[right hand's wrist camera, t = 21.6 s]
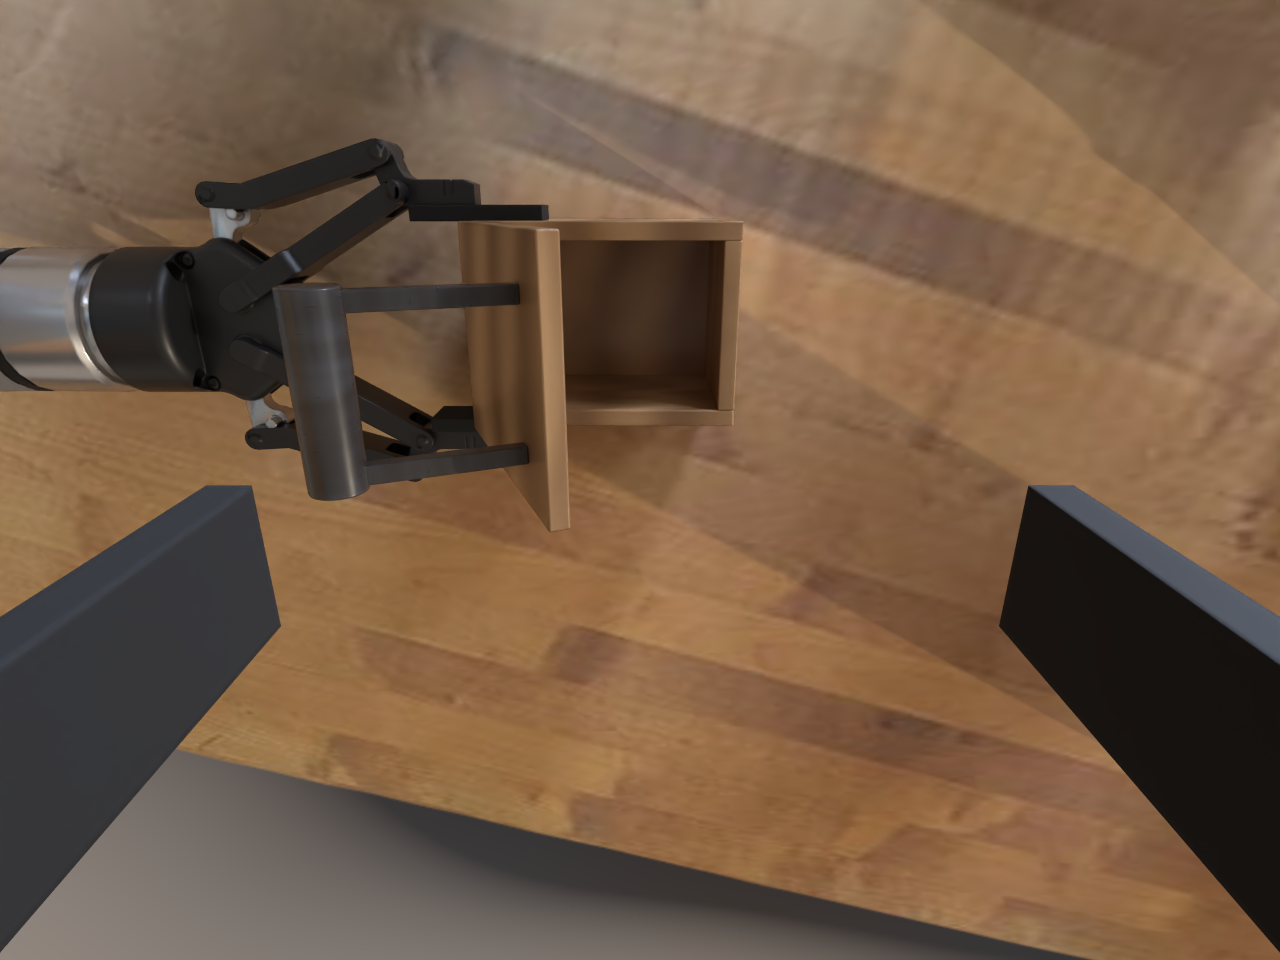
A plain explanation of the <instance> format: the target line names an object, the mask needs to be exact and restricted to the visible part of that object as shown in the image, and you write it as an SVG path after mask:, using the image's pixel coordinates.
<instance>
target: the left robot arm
mask: <svg viewBox="0 0 1280 960" xmlns="http://www.w3.org/2000/svg"><path fill="white" fill-rule="evenodd" d="M375 175H376V176H377V178H378V180H379V182H380V184H381V185H380V186H378V187H377V188H375V189H374V190H373V191H371V192H370V193H368V194H367V195H365V196H364V197H362V198H361V199H359V200H358V201H356V202H355V203H354V204H352V205H351V206H349V207H348V208H346V209H345V210H343V211H342V212H340V213H339V214H338V215H336V216H335V217H333V218H332V219H330V220H329V221H327V222H326V223H324V224H323V225H322V226H320V227H319V228H317V229H316V230H314V231H313V232H311V233H310V234H308V235H307V236H306V237H304V238H303V239H301V240H300V241H298V242H297V243H295V244H294V245H292V246H291V247H289V248H288V249H286V250H283V251H281V252H279V253H277V254H275V255H274V256H272V257H269V256H268V255H266V254H265V253H263V252H262V251H260V250H259V249H257V248H256V247H254V246H253V245H251V244H250V243H248V242H247V241H245V240H243V239H242V233H243V230H244V229H245V228H246V227H248V226H252V225H255V224H256V223H257V222H258V221H259V218H260V216H261V213H260V211H259V210H260V209H274V208H279V207H283V206H286V205H289V204H292V203H295V202H298V201H301V200H304V199H307V198H310V197H313V196H315V195H318V194H321V193H324V192H327V191H330V190H333V189H336V188H339V187H342V186H345V185H348V184H351V183H354V182H357V181H360V180H363V179H366V178H369V177H372V176H375ZM195 195H196V198H197V200H198V201H199V203H200V204H202V205H203V206H204V207H208V208H209V212H210V219H211V225H212V232H213V239H211V240H209V241H208V242H206V243H205V244H203V245H201V246H199V247H124V248H120V249H114V248H112V247H29V248H13V249H0V391H96V392H131V391H136V390H142V391H149V392H226V393H230V394H232V395H235V396H237V397H239V398H241V399H243V400H246V403H247V407H248V411H249V415H250V419H251V423H252V427H253V428H252V429H250V430H249V431H247V432H246V435H245V440H246V442H247V444H248V445H249V446H250V447H251V448H253V449H258V450H261V449H279V448H291V449H294V450H298V451H300V446H299V440H298V435H297V429H296V423H295V418H294V412H293V409H292V408H289V407H287V406H282V405H279V404H277V403H276V402H275V401H274V400H273V399H272V396H271V394H272V393H273V392H275V391H276V390H277V389H278V388H279V387H281V386H282V385H283V384H284V385H286V386H288V387H289V384H288V378H287V373H286V367H285V361H284V356H283V350H282V345H281V339H280V333H279V328H278V322H277V317H276V311H275V305H274V300H273V294H272V288H273V287H275V286H278V285H285V284H296V283H303V282H304V281H305V280H307V279H308V278H310V277H311V276H313V275H314V274H316V273H317V272H319V271H320V270H321V269H322V268H323V267H324V266H325V265H326V264H328V263H329V262H331V261H332V260H334V259H335V258H337V257H338V256H340V255H341V254H343V253H344V252H346V251H347V250H349V249H350V248H352V247H353V246H355V245H356V244H358V243H359V242H361V241H362V240H364V239H365V238H366V237H368V236H369V235H371V234H372V233H374V232H375V231H377V230H378V229H380V228H381V227H383V226H384V225H386V224H387V223H389V222H390V221H392V220H393V219H395V218H396V217H398V216H399V215H401V214H402V213H404V212H405V211H407V210H408V209H409V218H410V221H544V220H549V212H548V205H481V197H480V185H479V184H476V183H474V182H471V181H469V180H418V179H416V178H415V177H413V176H412V175H411V174H410V172H409V170H408V169H407V166H406V164H405V162H404V155H403V151H402V149H401V148H400V147H399V146H398V145H397V144H394V143H391V142H387V141H384V140H380V139H376V138H374V139H369V140H366V141H363V142H360V143H357V144H354V145H351V146H348V147H345V148H343V149H340V150H337V151H334V152H331V153H328V154H325V155H322V156H319V157H316V158H313V159H311V160H308V161H305V162H302V163H299V164H296V165H293V166H290V167H287V168H284V169H281V170H279V171H276V172H273V173H270V174H267V175H264V176H261V177H258V178H255V179H252V180H249V181H247V182H244V183H241V184H239V183H223V182H207V181H205V182H200V183H199V184H198V185H197V186H196V188H195ZM354 376H355V375H354ZM355 383H356V390H357V397H358V404H359V411H360V417H361V421H363V422H365V423H367V424H369V425H371V426H373V427H375V428H377V429H379V430H380V431H382V432H384V433H386V434H388V435H390V436H392V437H394V438H396V439H398V440H395V439H392V438H388V437H384V436H381V435H377V434H373V433H370V432H366V431H363V430H362V431H363V438H364V445H365V452H366V459H367V461H371V460H379V459H387V458H396V457H404V456H412V455H421V454H429V453H437V450H439V449H470V448H478V447H487V444H486V443H485V442H484V440H483V439H482V437H481V436H480V435H479V433H478V432H477V430H476V429H475V425H474V413H473V406H444V407H443V408H442V409H441V410H440V411H439V412H438V413H437V414H436V415H435V416H434V417H432V416H430V415H428V414H426V413H424V412H423V411H421V410H419V409H417V408H415V407H413V406H411V405H410V404H408V403H406V402H404V401H402V400H400V399H398V398H396V397H395V396H393V395H391V394H389V393H387V392H385V391H383V390H381V389H380V388H378V387H376V386H374V385H372V384H370V383H368V382H367V381H365V380H363V379H361V378H359V377H357V376H355ZM399 440H400V441H399ZM421 479H422V478H421ZM421 479H413V480H408V481H413V482H417V481H420V480H421Z"/></svg>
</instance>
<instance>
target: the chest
mask: <svg viewBox="0 0 1280 960" xmlns="http://www.w3.org/2000/svg"><path fill="white" fill-rule="evenodd" d="M476 222H487V223H499V224H510V225H522V226H533V227H545V228H556V229H559V233H560V261H561V288H562V315H563V342H564V370H565V397H566V424H567V425H670V426H732V425H733V419H734V411H733V410H734V400H735V380H736V360H737V340H738V320H739V301H740V281H741V261H742V241H741V240H743V222H742V221H735V220H727V219H549V220H544V221H476Z"/></svg>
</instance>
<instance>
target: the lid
mask: <svg viewBox="0 0 1280 960" xmlns="http://www.w3.org/2000/svg"><path fill="white" fill-rule="evenodd" d="M457 224H458V236H459V248H460V260H461V271H462V283H463V284H449V285H422V286H395V287H368V288H342V287H341V285H339V284H335V283H296V284H285V285H278V286H275V287H273V288H272V294H273V300H274V305H275V311H276V317H277V322H278V328H279V333H280V339H281V345H282V350H283V356H284V361H285V367H286V373H287V378H288V384H289V390H290V395H291V401H292V406H293V412H294V418H295V423H296V429H297V435H298V440H299V446H300V451H301V457H302V463H303V468H304V474H305V480H306V485H307V491H308V494H309V496H310V497H311V498H313V499H316V500H323V501H335V500H343V499H348V498H352V497H355V496H358V495H361V494H363V493H365V492H366V491H367V490H368V489H369V487H370V485H375V484H383V483H390V482H398V481H405V480H413V479H421V478H428V477H436V476H443V475H451V474H458V473H466V472H473V471H481V470H488V469H496V468H504V469H505V471H506V472H507V474H508V475H509V476H510V478H511V479H512V481H513V482H514V483H515V485H516V486H517V488H518V489H519V490H520V492H521V493H522V495H523V496H524V497H525V499H526V500H527V501H528V503H529V504H530V506H531V507H532V508H533V510H534V511H535V513H536V514H537V515H538V517H539V518H540V520H541V521H542V522H543V524H544V525H545V527H546V528H547V529H548V531H549V532H555V531H561V530H567V529H570V506H569V479H568V452H567V424H566V397H565V370H564V342H563V315H562V288H561V261H560V233H559V229H556V228H545V227H533V226H522V225H510V224H499V223H487V222H476V221H459V222H458V223H457ZM463 307H465V319H466V330H467V342H468V354H469V366H470V378H471V390H472V401H473V413H474V425H475V429H476V430H477V432H478V433H479V435H480V436H481V437H482V439H483V440H484V442H485V443H486V444H487V447H478V448H470V449H462V450H454V451H445V452H437V453H429V454H421V455H412V456H404V457H396V458H387V459H379V460H371V461H367V459H366V452H365V445H364V438H363V431H362V424H361V417H360V411H359V404H358V397H357V390H356V383H355V376H354V369H353V362H352V355H351V348H350V341H349V334H348V327H347V320H346V313H360V312H381V311H401V310H422V309H442V308H463Z"/></svg>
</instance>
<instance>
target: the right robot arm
mask: <svg viewBox="0 0 1280 960" xmlns="http://www.w3.org/2000/svg"><path fill="white" fill-rule="evenodd" d="M280 627H281V624H280V620H279V615H278V610H277V605H276V600H275V596H274V591H273V586H272V581H271V577H270V572H269V567H268V562H267V557H266V553H265V548H264V543H263V538H262V533H261V529H260V524H259V519H258V514H257V509H256V505H255V500H254V495H253V490H252V486H205V487H203V488H202V489H200V490H199V491H197V492H195V493H194V494H192V495H191V496H189V497H188V498H186V499H184V500H183V501H181V502H180V503H178V504H177V505H175V506H174V507H172V508H170V509H169V510H167V511H166V512H164V513H163V514H161V515H159V516H158V517H156V518H155V519H153V520H152V521H150V522H148V523H147V524H145V525H144V526H142V527H141V528H139V529H137V530H136V531H134V532H133V533H131V534H130V535H128V536H127V537H125V538H123V539H122V540H120V541H119V542H117V543H116V544H114V545H112V546H111V547H109V548H108V549H106V550H105V551H103V552H101V553H100V554H98V555H97V556H95V557H94V558H92V559H90V560H89V561H87V562H86V563H84V564H83V565H81V566H80V567H78V568H76V569H75V570H73V571H72V572H70V573H69V574H67V575H65V576H64V577H62V578H61V579H59V580H58V581H56V582H54V583H53V584H51V585H50V586H48V587H47V588H45V589H43V590H42V591H40V592H39V593H37V594H36V595H34V596H33V597H31V598H29V599H28V600H26V601H25V602H23V603H22V604H20V605H18V606H17V607H15V608H14V609H12V610H11V611H9V612H7V613H6V614H4V615H3V616H1V617H0V952H1V951H2V950H3V949H4V947H5V946H6V945H7V944H8V943H9V942H10V940H11V939H12V938H13V937H14V936H15V935H16V933H17V932H18V931H19V930H20V929H21V928H22V927H23V925H24V924H25V923H26V922H27V921H28V920H29V918H30V917H31V916H32V915H33V914H34V913H35V911H36V910H37V909H38V908H39V907H40V906H41V904H42V903H43V902H44V901H45V900H46V899H47V897H48V896H49V895H50V894H51V893H52V892H53V890H54V889H55V888H56V887H57V886H58V885H59V884H60V882H61V881H62V880H63V879H64V878H65V876H66V875H67V874H68V873H69V872H70V871H71V870H72V868H73V867H74V866H75V865H76V864H77V862H78V861H79V860H80V859H81V858H82V857H83V856H84V854H85V853H86V852H87V851H88V850H89V849H90V847H91V846H92V845H93V844H94V843H95V842H96V840H97V839H98V838H99V837H100V836H101V835H102V834H103V832H104V831H105V830H106V829H107V828H108V827H109V825H110V824H111V823H112V822H113V821H114V820H115V818H116V817H117V816H118V815H119V814H120V813H121V811H122V810H123V809H124V808H125V807H126V806H127V804H128V803H129V802H130V801H131V800H132V799H133V797H134V796H135V795H136V794H137V793H138V792H139V791H140V789H141V788H142V787H143V786H144V785H145V784H146V782H147V781H148V780H149V779H150V778H151V777H152V775H153V774H154V773H155V772H156V771H157V770H158V768H159V767H160V766H161V765H162V764H163V763H164V761H165V760H166V759H167V758H168V757H169V756H170V754H171V753H172V752H173V751H174V750H175V749H176V748H177V746H178V745H179V744H180V743H181V742H182V741H183V739H184V738H185V737H186V736H187V735H188V734H189V732H190V731H191V730H192V729H193V728H194V727H195V725H196V724H197V723H198V722H199V721H200V720H201V718H202V717H203V716H204V715H205V714H206V713H207V711H208V710H209V709H210V708H211V707H212V706H213V705H214V703H215V702H216V701H217V700H218V699H219V698H220V696H221V695H222V694H223V693H224V692H225V691H226V689H227V688H228V687H229V686H230V685H231V684H232V682H233V681H234V680H235V679H236V678H237V677H238V675H239V674H240V673H241V672H242V671H243V670H244V668H245V667H246V666H247V665H248V664H249V663H250V661H251V660H252V659H253V658H254V657H255V656H256V655H257V653H258V652H259V651H260V650H261V649H262V648H263V646H264V645H265V644H266V643H267V642H268V641H269V639H270V638H271V637H272V636H273V635H274V634H275V632H276V631H277V630H278V629H279V628H280ZM999 627H1000V628H1001V629H1002V630H1003V631H1004V632H1005V634H1006V635H1007V636H1008V637H1009V638H1010V639H1011V641H1012V642H1013V643H1014V644H1015V645H1016V646H1017V648H1018V649H1019V650H1020V651H1021V652H1022V653H1023V655H1024V656H1025V657H1026V658H1027V659H1028V660H1029V661H1030V663H1031V664H1032V665H1033V666H1034V667H1035V668H1036V670H1037V671H1038V672H1039V673H1040V674H1041V675H1042V677H1043V678H1044V679H1045V680H1046V681H1047V682H1048V684H1049V685H1050V686H1051V687H1052V688H1053V689H1054V691H1055V692H1056V693H1057V694H1058V695H1059V696H1060V698H1061V699H1062V700H1063V701H1064V702H1065V703H1066V705H1067V706H1068V707H1069V708H1070V709H1071V710H1072V711H1073V713H1074V714H1075V715H1076V716H1077V717H1078V718H1079V720H1080V721H1081V722H1082V723H1083V724H1084V725H1085V727H1086V728H1087V729H1088V730H1089V731H1090V732H1091V734H1092V735H1093V736H1094V737H1095V738H1096V739H1097V741H1098V742H1099V743H1100V744H1101V745H1102V746H1103V748H1104V749H1105V750H1106V751H1107V752H1108V753H1109V754H1110V756H1111V757H1112V758H1113V759H1114V760H1115V761H1116V763H1117V764H1118V765H1119V766H1120V767H1121V768H1122V770H1123V771H1124V772H1125V773H1126V774H1127V775H1128V777H1129V778H1130V779H1131V780H1132V781H1133V782H1134V784H1135V785H1136V786H1137V787H1138V788H1139V789H1140V791H1141V792H1142V793H1143V794H1144V795H1145V796H1146V797H1147V799H1148V800H1149V801H1150V802H1151V803H1152V804H1153V806H1154V807H1155V808H1156V809H1157V810H1158V811H1159V813H1160V814H1161V815H1162V816H1163V817H1164V818H1165V820H1166V821H1167V822H1168V823H1169V824H1170V825H1171V827H1172V828H1173V829H1174V830H1175V831H1176V832H1177V834H1178V835H1179V836H1180V837H1181V838H1182V839H1183V840H1184V842H1185V843H1186V844H1187V845H1188V846H1189V847H1190V849H1191V850H1192V851H1193V852H1194V853H1195V854H1196V856H1197V857H1198V858H1199V859H1200V860H1201V861H1202V863H1203V864H1204V865H1205V866H1206V867H1207V868H1208V870H1209V871H1210V872H1211V873H1212V874H1213V875H1214V877H1215V878H1216V879H1217V880H1218V881H1219V882H1220V884H1221V885H1222V886H1223V887H1224V888H1225V889H1226V890H1227V892H1228V893H1229V894H1230V895H1231V896H1232V897H1233V899H1234V900H1235V901H1236V902H1237V903H1238V904H1239V906H1240V907H1241V908H1242V909H1243V910H1244V911H1245V913H1246V914H1247V915H1248V916H1249V917H1250V918H1251V920H1252V921H1253V922H1254V923H1255V924H1256V925H1257V927H1258V928H1259V929H1260V930H1261V931H1262V932H1263V933H1264V935H1265V936H1266V937H1267V938H1268V939H1269V940H1270V942H1271V943H1272V944H1273V945H1274V946H1275V947H1276V949H1277V950H1278V951H1279V952H1280V617H1279V616H1277V615H1276V614H1274V613H1273V612H1271V611H1269V610H1268V609H1266V608H1265V607H1263V606H1262V605H1260V604H1258V603H1257V602H1255V601H1254V600H1252V599H1251V598H1249V597H1247V596H1246V595H1244V594H1243V593H1241V592H1240V591H1238V590H1237V589H1235V588H1233V587H1232V586H1230V585H1229V584H1227V583H1226V582H1224V581H1222V580H1221V579H1219V578H1218V577H1216V576H1215V575H1213V574H1211V573H1210V572H1208V571H1207V570H1205V569H1204V568H1202V567H1200V566H1199V565H1197V564H1196V563H1194V562H1193V561H1191V560H1190V559H1188V558H1186V557H1185V556H1183V555H1182V554H1180V553H1179V552H1177V551H1175V550H1174V549H1172V548H1171V547H1169V546H1168V545H1166V544H1164V543H1163V542H1161V541H1160V540H1158V539H1157V538H1155V537H1153V536H1152V535H1150V534H1149V533H1147V532H1146V531H1144V530H1143V529H1141V528H1139V527H1138V526H1136V525H1135V524H1133V523H1132V522H1130V521H1128V520H1127V519H1125V518H1124V517H1122V516H1121V515H1119V514H1117V513H1116V512H1114V511H1113V510H1111V509H1110V508H1108V507H1106V506H1105V505H1103V504H1102V503H1100V502H1099V501H1097V500H1096V499H1094V498H1092V497H1091V496H1089V495H1088V494H1086V493H1085V492H1083V491H1081V490H1080V489H1078V488H1077V487H1075V486H1028V490H1027V495H1026V500H1025V505H1024V509H1023V514H1022V519H1021V524H1020V529H1019V533H1018V538H1017V543H1016V548H1015V553H1014V557H1013V562H1012V567H1011V572H1010V577H1009V581H1008V586H1007V591H1006V596H1005V600H1004V605H1003V610H1002V615H1001V620H1000V624H999Z"/></svg>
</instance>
